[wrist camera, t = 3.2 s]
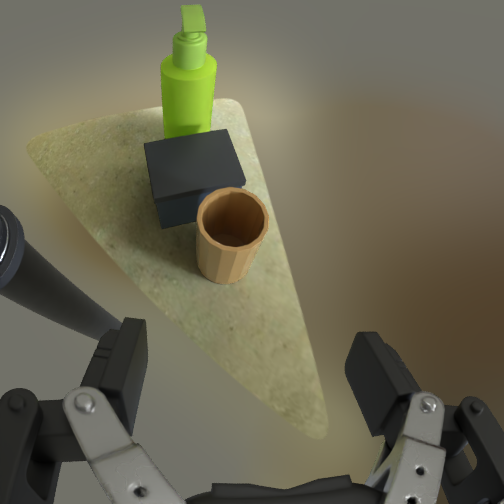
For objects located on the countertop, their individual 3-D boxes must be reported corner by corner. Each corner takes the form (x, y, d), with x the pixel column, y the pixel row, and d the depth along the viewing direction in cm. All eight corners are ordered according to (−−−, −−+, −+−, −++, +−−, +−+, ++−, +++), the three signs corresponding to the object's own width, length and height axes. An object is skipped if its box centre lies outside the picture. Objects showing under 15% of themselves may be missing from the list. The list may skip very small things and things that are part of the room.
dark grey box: (160, 231, 35) (153, 199, 29) (149, 180, 38) (143, 143, 31) (237, 213, 38) (246, 180, 31) (221, 165, 40) (226, 128, 34)
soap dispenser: (167, 168, 39) (159, 28, 20) (164, 129, 41) (159, -1, 23) (213, 163, 40) (231, 25, 22) (205, 125, 42) (219, -3, 24)
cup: (204, 290, 34) (207, 258, 25) (190, 239, 36) (189, 194, 27) (258, 276, 35) (278, 241, 27) (241, 228, 37) (256, 182, 29)
